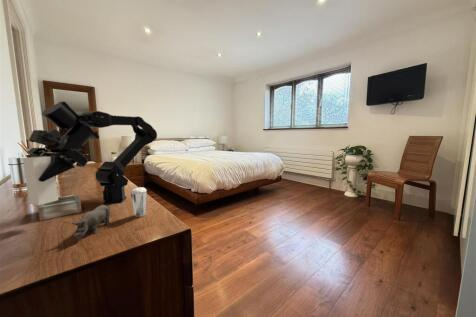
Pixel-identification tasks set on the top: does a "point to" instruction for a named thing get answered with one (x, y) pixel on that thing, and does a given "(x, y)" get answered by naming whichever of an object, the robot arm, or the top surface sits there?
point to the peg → (35, 188)
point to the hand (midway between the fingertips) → (34, 180)
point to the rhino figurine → (92, 221)
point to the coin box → (60, 207)
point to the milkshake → (139, 201)
